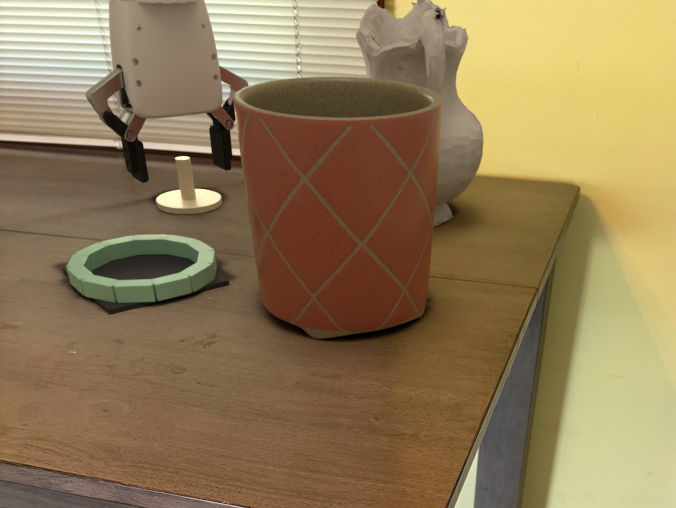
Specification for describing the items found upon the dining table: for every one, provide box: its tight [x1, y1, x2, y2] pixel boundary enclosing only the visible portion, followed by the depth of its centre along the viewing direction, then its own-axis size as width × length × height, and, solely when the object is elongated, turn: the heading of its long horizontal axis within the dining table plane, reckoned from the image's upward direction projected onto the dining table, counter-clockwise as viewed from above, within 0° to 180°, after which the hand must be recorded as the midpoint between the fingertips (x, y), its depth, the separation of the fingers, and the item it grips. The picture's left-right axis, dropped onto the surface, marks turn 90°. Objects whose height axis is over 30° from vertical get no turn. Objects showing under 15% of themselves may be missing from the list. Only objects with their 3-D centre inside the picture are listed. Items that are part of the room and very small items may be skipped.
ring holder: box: [155, 155, 223, 215], centre depth 105 cm, size 9×9×6 cm
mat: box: [62, 254, 230, 315], centre depth 86 cm, size 14×14×1 cm
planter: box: [233, 76, 443, 340], centre depth 75 cm, size 19×19×20 cm
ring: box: [65, 233, 218, 303], centre depth 85 cm, size 16×16×2 cm
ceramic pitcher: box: [355, 0, 484, 227], centre depth 97 cm, size 22×20×25 cm
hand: (182, 173), depth 83 cm, fingers open, 9 cm apart
